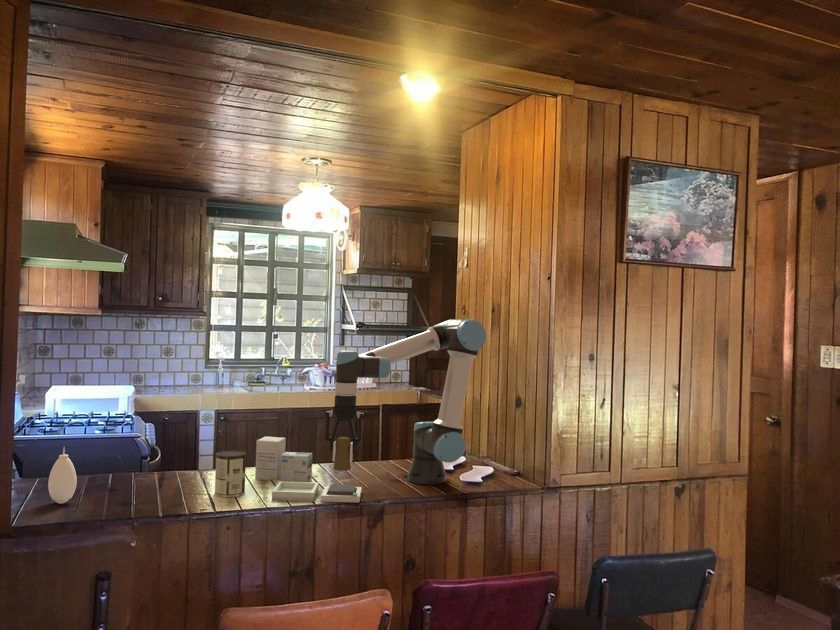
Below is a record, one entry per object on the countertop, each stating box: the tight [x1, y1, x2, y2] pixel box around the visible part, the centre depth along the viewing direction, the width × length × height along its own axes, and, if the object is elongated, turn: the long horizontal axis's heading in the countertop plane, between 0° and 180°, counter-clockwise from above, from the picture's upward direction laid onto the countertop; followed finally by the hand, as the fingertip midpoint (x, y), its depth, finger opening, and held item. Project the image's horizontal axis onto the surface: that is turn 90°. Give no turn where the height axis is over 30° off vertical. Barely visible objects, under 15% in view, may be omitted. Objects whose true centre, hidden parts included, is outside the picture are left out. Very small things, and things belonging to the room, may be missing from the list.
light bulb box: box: [279, 451, 313, 482], centre depth 248 cm, size 11×7×11 cm, turn 84°
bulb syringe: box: [47, 446, 78, 505], centre depth 210 cm, size 8×8×18 cm
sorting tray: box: [271, 480, 320, 503], centre depth 229 cm, size 14×14×3 cm
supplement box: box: [254, 436, 287, 481], centre depth 253 cm, size 9×9×15 cm
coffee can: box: [214, 450, 247, 498], centre depth 228 cm, size 10×10×14 cm
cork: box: [333, 436, 352, 472], centre depth 229 cm, size 6×6×11 cm
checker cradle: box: [320, 485, 362, 503], centre depth 229 cm, size 13×13×3 cm
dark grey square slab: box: [328, 484, 357, 495], centre depth 229 cm, size 9×9×2 cm
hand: (342, 460), depth 229 cm, fingers closed on cork, 5 cm apart
